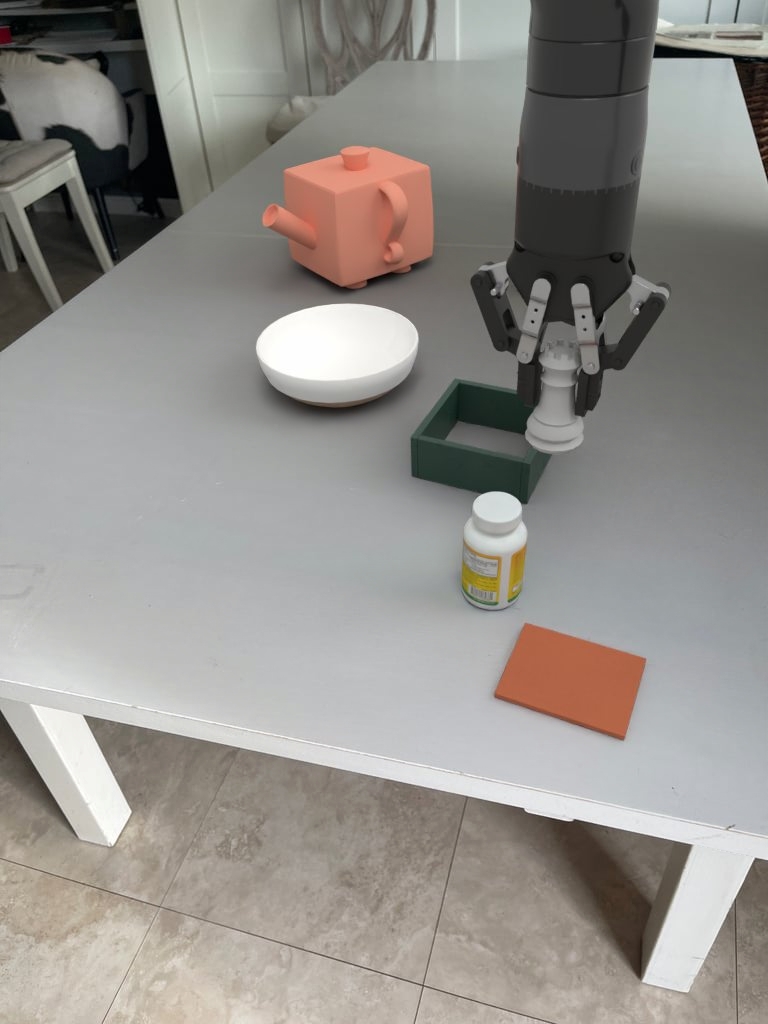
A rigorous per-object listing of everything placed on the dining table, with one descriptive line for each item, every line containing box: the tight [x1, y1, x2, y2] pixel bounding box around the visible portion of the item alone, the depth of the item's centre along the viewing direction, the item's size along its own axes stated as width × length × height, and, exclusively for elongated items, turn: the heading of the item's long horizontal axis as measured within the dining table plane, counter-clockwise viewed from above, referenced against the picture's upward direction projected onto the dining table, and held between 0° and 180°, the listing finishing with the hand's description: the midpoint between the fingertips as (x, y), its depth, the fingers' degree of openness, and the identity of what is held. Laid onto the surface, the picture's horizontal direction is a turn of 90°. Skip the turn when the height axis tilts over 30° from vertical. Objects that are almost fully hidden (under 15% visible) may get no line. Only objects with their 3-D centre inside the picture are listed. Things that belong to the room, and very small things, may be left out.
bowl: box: [255, 303, 420, 408], centre depth 98 cm, size 20×20×6 cm
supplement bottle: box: [460, 492, 528, 611], centre depth 68 cm, size 5×5×10 cm
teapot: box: [262, 145, 435, 290], centre depth 120 cm, size 25×23×18 cm
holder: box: [409, 378, 553, 505], centre depth 85 cm, size 13×13×5 cm
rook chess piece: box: [524, 338, 585, 455], centre depth 60 cm, size 4×4×8 cm
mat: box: [493, 622, 647, 741], centre depth 63 cm, size 10×8×1 cm
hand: (556, 405), depth 60 cm, fingers closed on rook chess piece, 3 cm apart
